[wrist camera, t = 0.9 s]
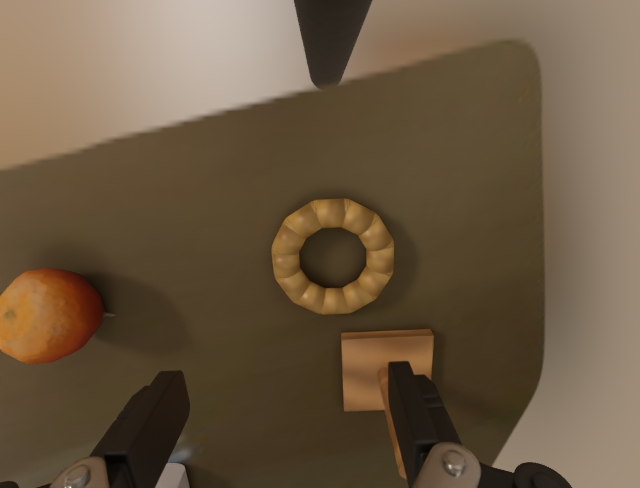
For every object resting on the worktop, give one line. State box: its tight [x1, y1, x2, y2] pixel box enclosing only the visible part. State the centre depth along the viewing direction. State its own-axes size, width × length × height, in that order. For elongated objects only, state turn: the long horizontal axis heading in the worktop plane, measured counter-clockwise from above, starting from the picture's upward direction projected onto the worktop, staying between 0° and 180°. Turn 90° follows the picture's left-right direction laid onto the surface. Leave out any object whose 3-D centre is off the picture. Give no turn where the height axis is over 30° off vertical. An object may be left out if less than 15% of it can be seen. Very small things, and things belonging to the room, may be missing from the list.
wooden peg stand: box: [341, 329, 434, 479], centre depth 30 cm, size 9×9×11 cm
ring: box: [271, 199, 394, 314], centre depth 30 cm, size 11×11×2 cm
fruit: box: [0, 268, 115, 364], centre depth 30 cm, size 8×8×8 cm
